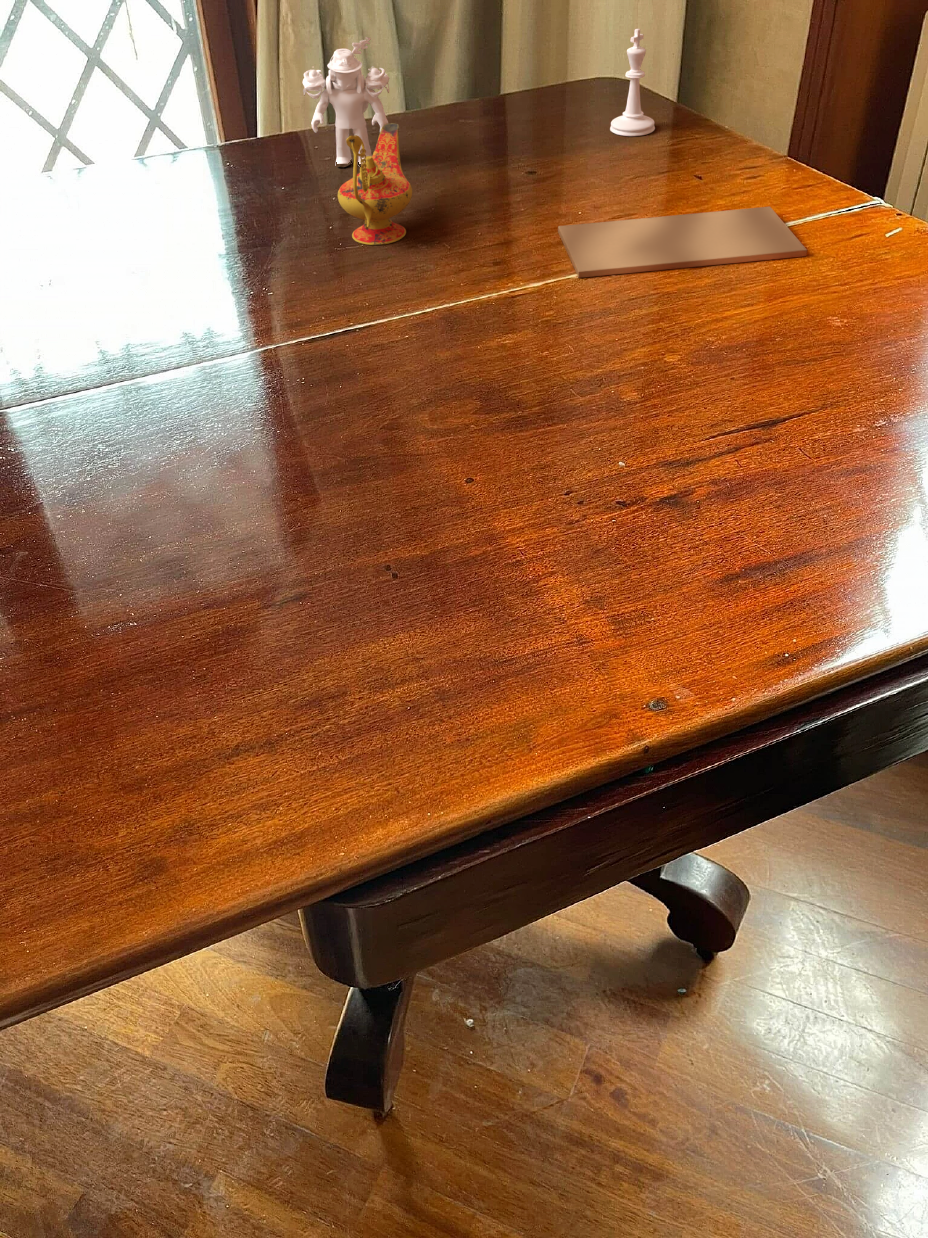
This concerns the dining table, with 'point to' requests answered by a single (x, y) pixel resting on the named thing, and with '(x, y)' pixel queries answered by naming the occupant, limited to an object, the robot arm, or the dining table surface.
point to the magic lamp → (377, 189)
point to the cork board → (678, 241)
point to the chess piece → (634, 96)
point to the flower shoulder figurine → (348, 98)
